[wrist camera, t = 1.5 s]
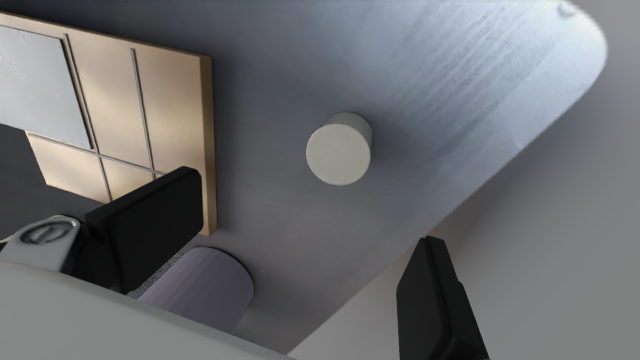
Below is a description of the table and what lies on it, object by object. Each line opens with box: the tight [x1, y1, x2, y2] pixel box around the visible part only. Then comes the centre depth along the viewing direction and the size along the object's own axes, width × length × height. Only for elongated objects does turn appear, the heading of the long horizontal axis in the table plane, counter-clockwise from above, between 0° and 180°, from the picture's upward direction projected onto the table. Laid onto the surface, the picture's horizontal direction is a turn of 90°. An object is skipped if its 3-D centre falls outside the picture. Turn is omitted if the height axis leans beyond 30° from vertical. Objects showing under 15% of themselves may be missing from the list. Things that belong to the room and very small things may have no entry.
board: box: [0, 11, 217, 237], centre depth 25 cm, size 18×25×2 cm
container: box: [137, 247, 254, 335], centre depth 25 cm, size 10×10×15 cm
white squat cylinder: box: [306, 112, 373, 185], centre depth 18 cm, size 4×4×4 cm
